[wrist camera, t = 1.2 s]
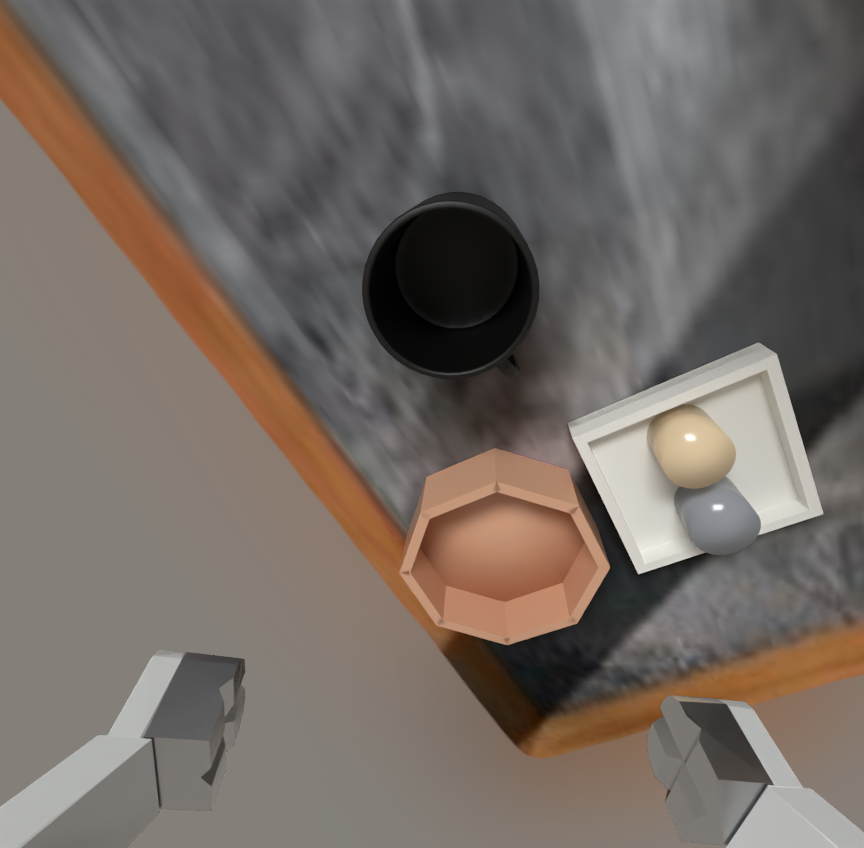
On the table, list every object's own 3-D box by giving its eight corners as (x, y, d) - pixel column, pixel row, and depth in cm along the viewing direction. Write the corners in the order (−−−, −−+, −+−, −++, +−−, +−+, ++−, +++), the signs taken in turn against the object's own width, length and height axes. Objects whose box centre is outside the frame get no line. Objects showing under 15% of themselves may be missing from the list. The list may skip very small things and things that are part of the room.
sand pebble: (701, 393, 37) (724, 418, 34) (719, 445, 39) (744, 473, 35) (637, 419, 39) (653, 446, 35) (658, 468, 40) (675, 498, 37)
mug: (458, 385, 40) (452, 441, 32) (360, 248, 36) (325, 272, 28) (570, 316, 37) (596, 359, 29) (476, 159, 33) (475, 157, 25)
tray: (758, 342, 36) (776, 353, 34) (804, 495, 41) (823, 514, 39) (567, 423, 40) (572, 438, 38) (630, 553, 45) (638, 574, 43)
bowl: (546, 425, 40) (554, 457, 36) (615, 563, 46) (630, 607, 41) (381, 495, 45) (370, 532, 40) (462, 615, 50) (460, 659, 45)
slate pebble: (726, 463, 40) (751, 493, 36) (743, 509, 41) (768, 542, 38) (665, 486, 41) (683, 517, 37) (684, 529, 42) (702, 563, 39)
